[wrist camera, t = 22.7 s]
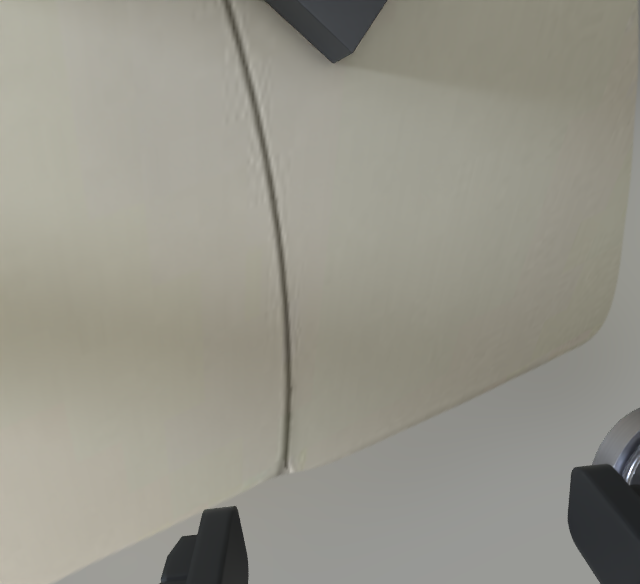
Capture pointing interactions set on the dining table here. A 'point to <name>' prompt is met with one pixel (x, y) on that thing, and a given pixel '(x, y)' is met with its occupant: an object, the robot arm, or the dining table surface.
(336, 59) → the scale
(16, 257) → the dining table surface
